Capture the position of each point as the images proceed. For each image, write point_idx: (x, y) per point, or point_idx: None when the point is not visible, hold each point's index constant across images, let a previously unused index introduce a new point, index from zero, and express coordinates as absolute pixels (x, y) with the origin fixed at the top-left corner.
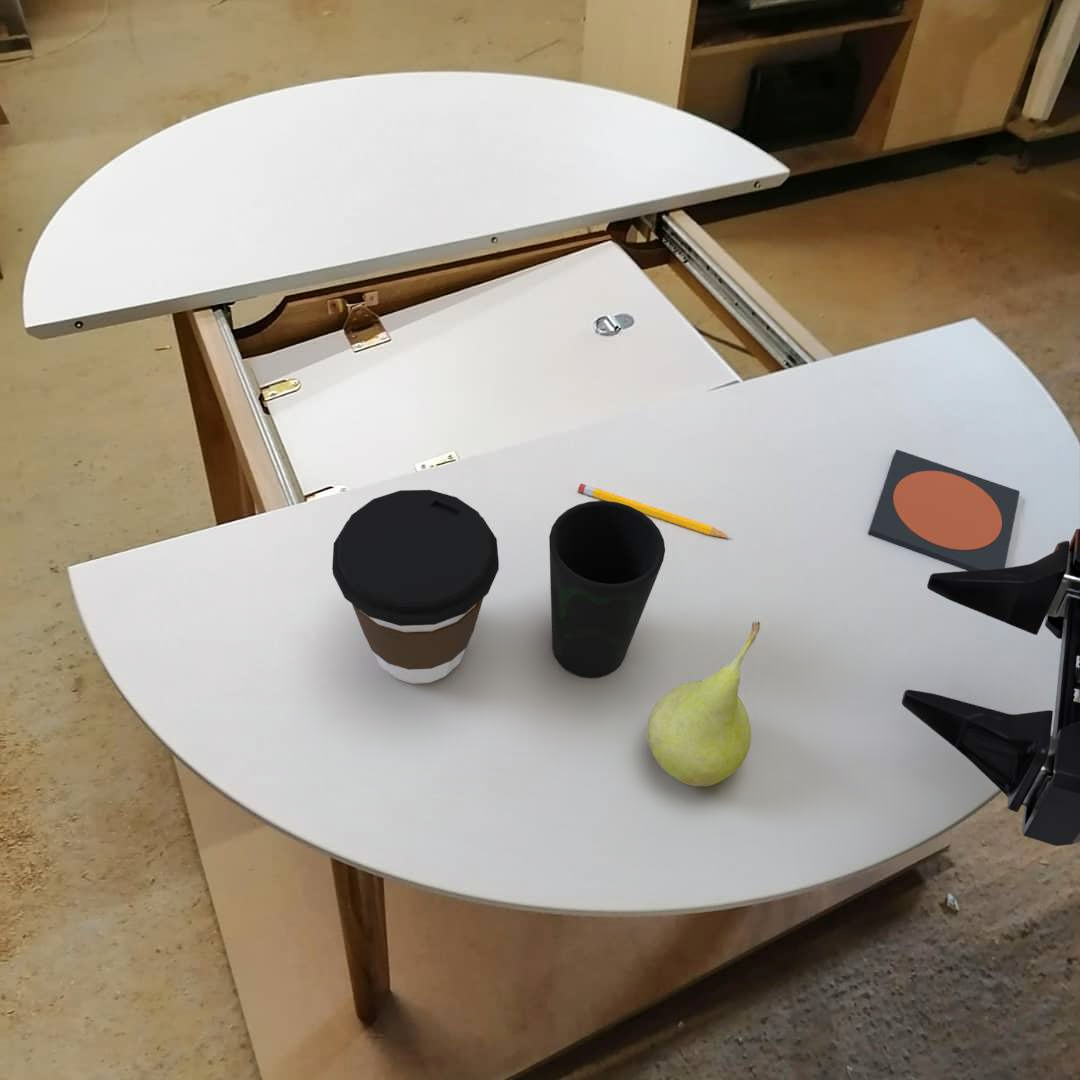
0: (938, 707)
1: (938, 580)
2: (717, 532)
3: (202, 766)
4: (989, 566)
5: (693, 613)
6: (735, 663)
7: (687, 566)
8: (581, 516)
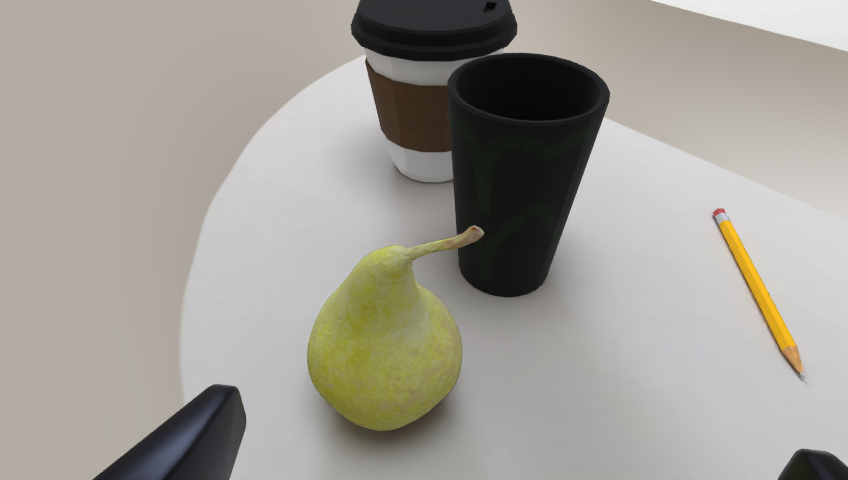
0: (116, 461)
1: (812, 476)
2: (793, 355)
3: (289, 101)
4: None
5: (625, 356)
6: (405, 248)
7: (700, 336)
8: (565, 79)
